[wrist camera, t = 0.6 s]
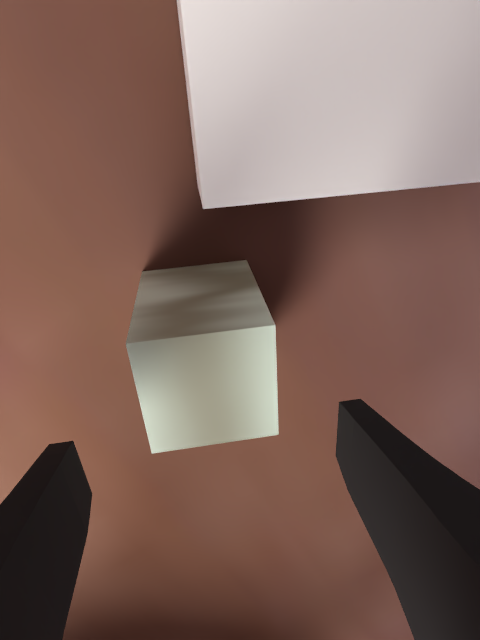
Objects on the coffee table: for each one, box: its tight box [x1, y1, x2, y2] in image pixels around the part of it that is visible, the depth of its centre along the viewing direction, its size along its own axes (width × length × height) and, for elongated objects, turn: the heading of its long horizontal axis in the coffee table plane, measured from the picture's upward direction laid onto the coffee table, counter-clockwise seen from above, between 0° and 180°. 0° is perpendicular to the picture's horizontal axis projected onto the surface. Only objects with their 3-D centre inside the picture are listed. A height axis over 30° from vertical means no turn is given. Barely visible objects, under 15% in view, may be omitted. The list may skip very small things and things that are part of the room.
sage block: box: [126, 260, 279, 453], centre depth 16 cm, size 4×4×6 cm
